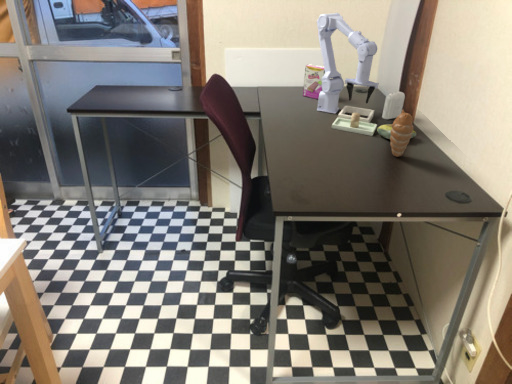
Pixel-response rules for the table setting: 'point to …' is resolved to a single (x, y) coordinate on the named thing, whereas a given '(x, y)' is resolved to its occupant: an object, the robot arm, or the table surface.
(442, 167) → the table surface
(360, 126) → the tray
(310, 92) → the candy bar box
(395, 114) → the photo printer
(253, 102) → the table surface
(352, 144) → the table surface
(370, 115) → the square open frame
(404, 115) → the tan ribbed oblong piece
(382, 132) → the cell model
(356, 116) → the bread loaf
